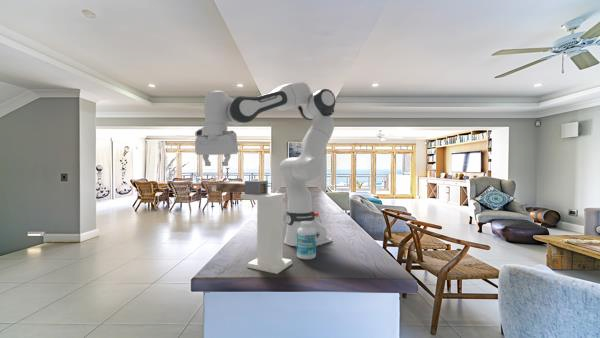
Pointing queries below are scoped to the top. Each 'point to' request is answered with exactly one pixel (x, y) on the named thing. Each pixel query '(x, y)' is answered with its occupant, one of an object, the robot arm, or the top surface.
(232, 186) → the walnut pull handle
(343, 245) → the top surface
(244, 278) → the top surface
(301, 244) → the pill bottle
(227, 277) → the top surface
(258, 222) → the post
